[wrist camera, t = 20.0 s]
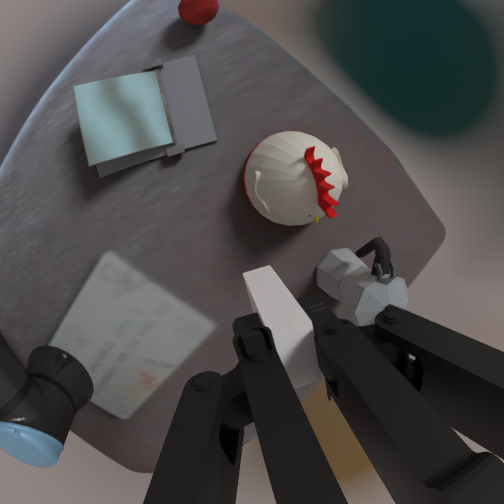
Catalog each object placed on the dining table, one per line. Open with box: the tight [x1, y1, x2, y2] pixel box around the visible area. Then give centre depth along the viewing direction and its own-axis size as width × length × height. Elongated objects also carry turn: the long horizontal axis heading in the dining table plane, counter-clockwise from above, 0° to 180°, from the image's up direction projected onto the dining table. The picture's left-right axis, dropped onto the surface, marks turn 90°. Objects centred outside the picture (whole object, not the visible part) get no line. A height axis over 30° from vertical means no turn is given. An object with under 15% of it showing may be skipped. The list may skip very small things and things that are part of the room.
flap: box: [73, 69, 177, 167], centre depth 35 cm, size 13×12×1 cm
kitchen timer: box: [243, 131, 348, 226], centre depth 38 cm, size 14×14×15 cm
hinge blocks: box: [145, 58, 185, 157], centre depth 38 cm, size 2×15×1 cm, turn 14°
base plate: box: [96, 55, 217, 178], centre depth 38 cm, size 18×14×1 cm
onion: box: [178, 0, 219, 25], centre depth 32 cm, size 6×6×8 cm
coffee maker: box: [316, 237, 410, 326], centre depth 41 cm, size 15×9×18 cm, turn 5°
